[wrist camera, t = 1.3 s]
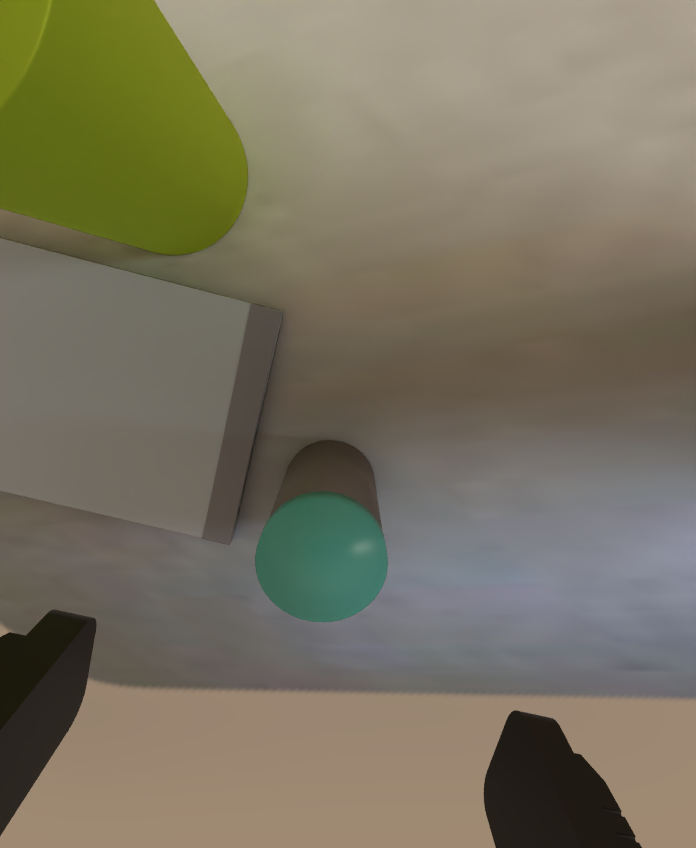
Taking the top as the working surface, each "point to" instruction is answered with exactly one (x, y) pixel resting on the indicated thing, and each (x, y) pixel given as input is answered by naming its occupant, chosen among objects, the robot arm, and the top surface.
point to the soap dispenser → (113, 127)
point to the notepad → (128, 391)
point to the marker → (324, 536)
